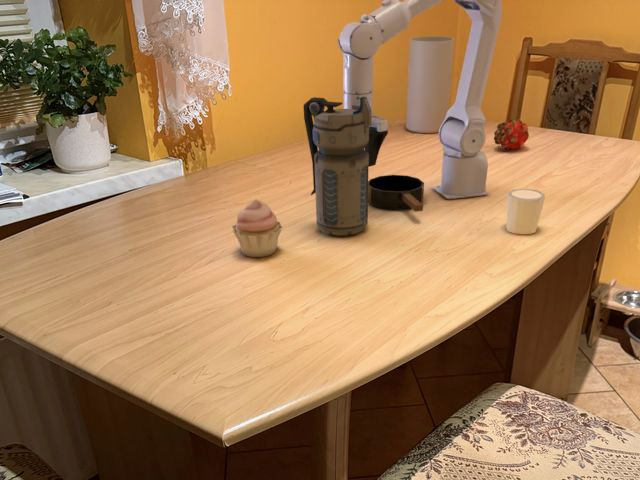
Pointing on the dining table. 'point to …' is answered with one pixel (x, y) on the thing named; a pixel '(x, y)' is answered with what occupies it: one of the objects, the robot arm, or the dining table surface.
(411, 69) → the cylinder vase
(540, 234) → the dining table surface
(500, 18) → the robot arm
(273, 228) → the cupcake
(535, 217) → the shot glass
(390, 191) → the skillet
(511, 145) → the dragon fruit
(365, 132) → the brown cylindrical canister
